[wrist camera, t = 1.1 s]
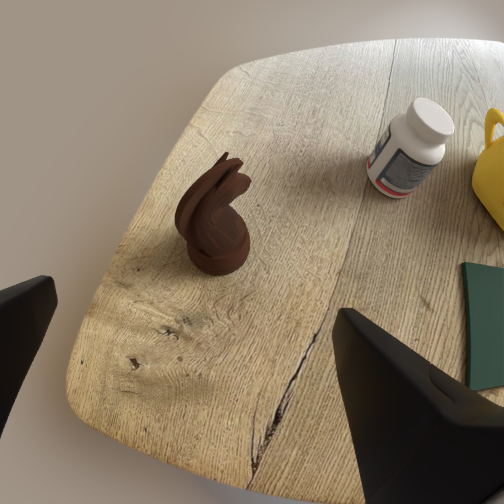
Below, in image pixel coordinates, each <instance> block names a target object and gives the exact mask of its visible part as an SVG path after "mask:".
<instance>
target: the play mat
mask: <svg viewBox="0 0 504 504" xmlns="http://www.w3.org/2000/svg"><path fill="white" fill-rule="evenodd" d="M462 272H463V282H464V293H465V307H466V328H467V372H466V387H468V388H470V389H471V390H473V391H477V390H483V389H488V388H494V387H499V386H504V268H499V267H493V266H487V265H481V264H475V263H469V262H464V263H462Z"/></svg>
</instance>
